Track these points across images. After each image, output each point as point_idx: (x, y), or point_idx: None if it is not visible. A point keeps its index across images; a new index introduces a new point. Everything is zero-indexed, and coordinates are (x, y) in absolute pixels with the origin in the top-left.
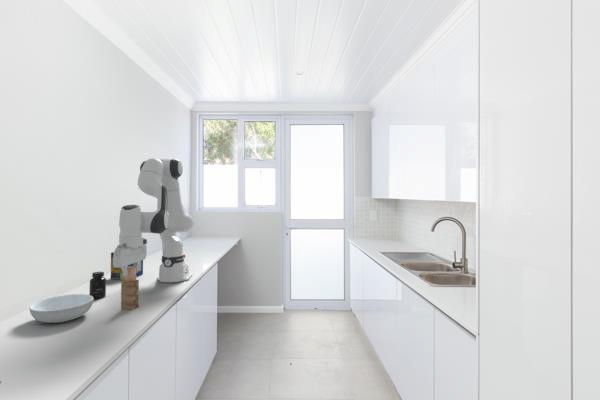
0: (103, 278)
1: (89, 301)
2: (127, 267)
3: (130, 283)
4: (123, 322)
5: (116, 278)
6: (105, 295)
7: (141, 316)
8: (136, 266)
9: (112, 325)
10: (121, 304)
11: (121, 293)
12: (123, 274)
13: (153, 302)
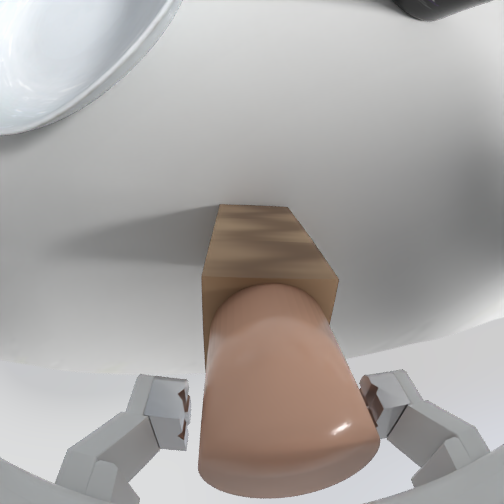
0: None
1: (33, 123)
2: (265, 456)
3: (205, 357)
4: (77, 304)
5: None
6: (430, 20)
7: (149, 340)
8: (404, 444)
9: (45, 280)
10: (218, 213)
11: (212, 235)
12: (137, 390)
13: (346, 306)
